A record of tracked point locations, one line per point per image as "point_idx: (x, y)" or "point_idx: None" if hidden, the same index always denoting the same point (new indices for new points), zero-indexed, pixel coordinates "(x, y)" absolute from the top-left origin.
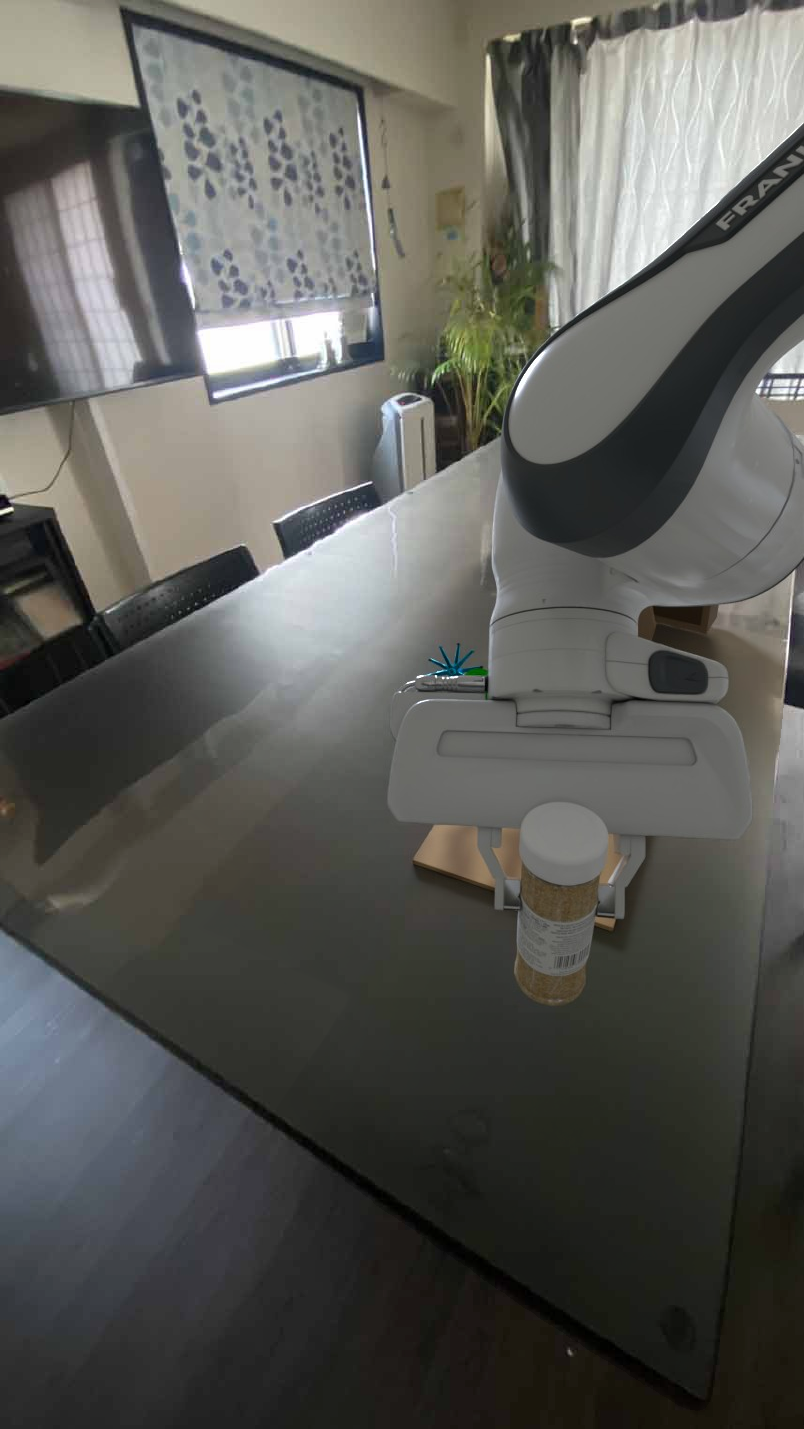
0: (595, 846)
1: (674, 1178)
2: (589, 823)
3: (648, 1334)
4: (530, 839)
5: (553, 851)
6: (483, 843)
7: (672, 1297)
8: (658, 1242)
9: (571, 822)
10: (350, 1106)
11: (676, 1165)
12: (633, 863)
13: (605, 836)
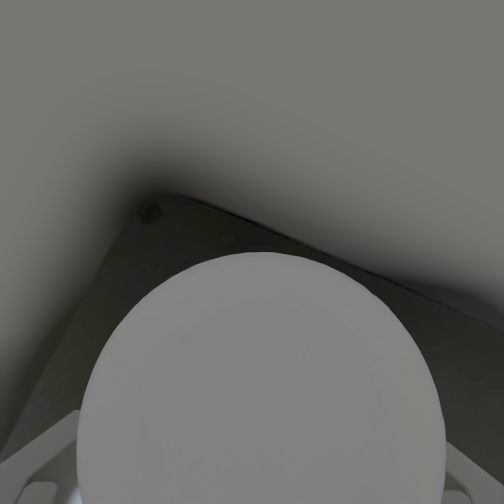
0: (150, 325)
1: (122, 306)
2: (149, 469)
3: (171, 207)
4: (408, 353)
5: (317, 290)
6: (496, 501)
7: (148, 228)
8: (149, 259)
9: (230, 474)
10: (427, 342)
11: (117, 316)
12: (28, 459)
13: (95, 392)
